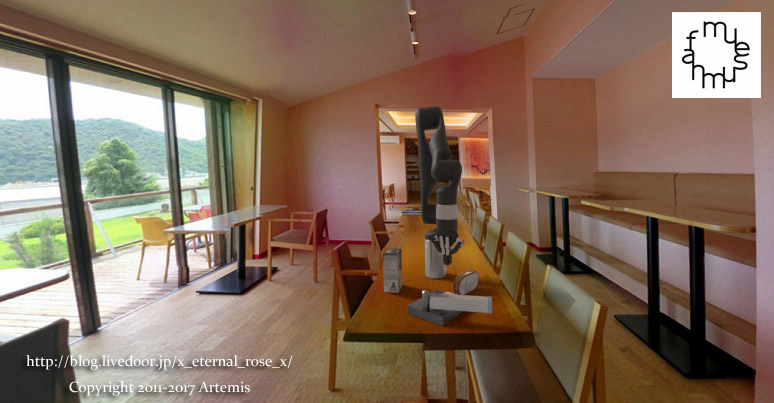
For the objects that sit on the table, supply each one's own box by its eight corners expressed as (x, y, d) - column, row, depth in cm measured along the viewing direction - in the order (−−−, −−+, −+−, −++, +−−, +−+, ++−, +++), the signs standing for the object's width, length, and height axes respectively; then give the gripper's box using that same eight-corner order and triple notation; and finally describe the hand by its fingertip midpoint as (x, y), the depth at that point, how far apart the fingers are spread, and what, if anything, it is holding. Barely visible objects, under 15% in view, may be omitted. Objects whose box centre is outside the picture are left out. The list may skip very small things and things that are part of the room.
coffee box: (388, 284, 139) (386, 247, 138) (402, 284, 138) (401, 248, 136) (383, 292, 131) (382, 253, 129) (399, 293, 129) (398, 254, 128)
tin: (473, 286, 134) (473, 266, 133) (480, 288, 132) (480, 268, 131) (452, 297, 124) (452, 275, 123) (459, 299, 122) (459, 277, 121)
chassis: (436, 296, 124) (436, 273, 123) (469, 306, 115) (469, 281, 114) (407, 313, 111) (406, 287, 110) (442, 326, 102) (442, 297, 101)
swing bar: (430, 309, 105) (430, 296, 104) (431, 304, 108) (431, 292, 107) (492, 313, 100) (492, 300, 100) (491, 309, 103) (491, 296, 103)
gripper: (469, 217, 112) (469, 265, 114) (436, 214, 121) (437, 259, 123) (458, 220, 106) (458, 271, 108) (425, 216, 115) (426, 264, 117)
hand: (447, 264), depth 115 cm, fingers closed
